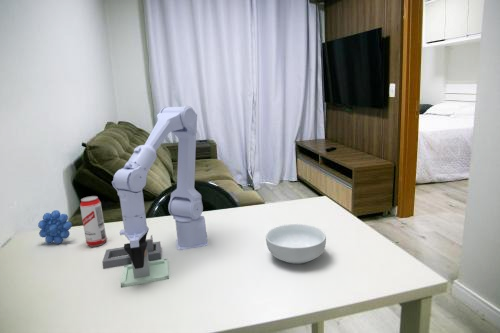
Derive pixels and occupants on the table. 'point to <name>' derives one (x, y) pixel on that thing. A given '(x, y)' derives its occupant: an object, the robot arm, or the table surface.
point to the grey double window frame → (126, 260)
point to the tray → (156, 274)
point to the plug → (142, 271)
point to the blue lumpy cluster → (54, 227)
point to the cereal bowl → (296, 242)
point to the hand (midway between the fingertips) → (140, 260)
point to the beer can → (93, 221)
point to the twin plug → (149, 243)
